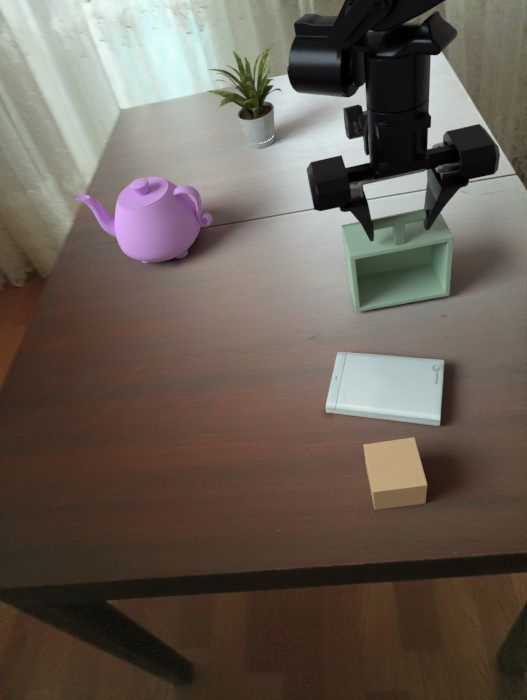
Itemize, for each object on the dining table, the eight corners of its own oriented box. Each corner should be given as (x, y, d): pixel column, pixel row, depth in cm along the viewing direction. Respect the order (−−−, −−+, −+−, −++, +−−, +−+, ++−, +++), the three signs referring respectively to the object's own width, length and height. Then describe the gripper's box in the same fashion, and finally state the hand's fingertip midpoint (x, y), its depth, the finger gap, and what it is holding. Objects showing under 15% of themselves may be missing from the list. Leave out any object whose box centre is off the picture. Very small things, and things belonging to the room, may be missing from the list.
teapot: (98, 281, 82) (59, 222, 73) (116, 227, 91) (84, 168, 81) (214, 265, 78) (190, 200, 69) (222, 210, 87) (201, 146, 78)
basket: (338, 200, 61) (346, 230, 56) (437, 179, 60) (455, 209, 55) (347, 279, 70) (355, 312, 65) (434, 263, 69) (449, 295, 64)
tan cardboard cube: (413, 457, 52) (414, 436, 49) (425, 503, 49) (427, 485, 46) (365, 464, 53) (363, 444, 49) (374, 510, 50) (372, 492, 46)
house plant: (257, 115, 106) (238, 31, 94) (311, 123, 99) (298, 33, 87) (216, 151, 100) (190, 66, 88) (270, 162, 93) (251, 72, 81)
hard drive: (445, 358, 57) (337, 349, 61) (440, 420, 52) (324, 406, 56) (443, 367, 58) (338, 357, 62) (439, 428, 54) (326, 413, 58)
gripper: (471, 44, 51) (459, 180, 62) (292, 88, 53) (312, 211, 65) (513, 88, 43) (490, 232, 55) (302, 137, 46) (323, 266, 57)
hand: (398, 233), depth 58 cm, fingers closed on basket, 6 cm apart
